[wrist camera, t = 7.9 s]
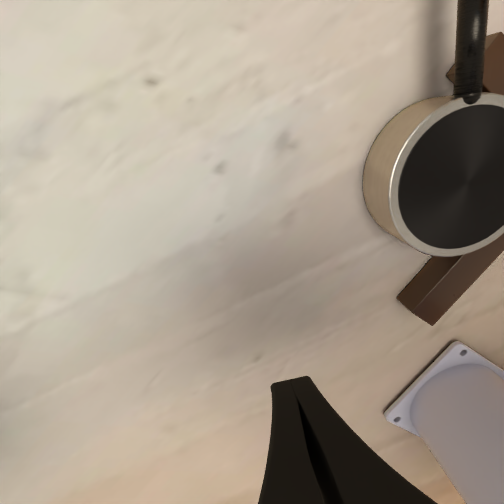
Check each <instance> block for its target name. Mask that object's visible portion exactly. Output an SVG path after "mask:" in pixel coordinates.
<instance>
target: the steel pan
mask: <svg viewBox="0 0 504 504" xmlns="http://www.w3.org/2000/svg"><path fill="white" fill-rule="evenodd" d="M488 7H489V0H458V7H457V29H456V51H455V73H454V95H451V96H441V97H433V98H429V99H425V100H422V101H420V102H417V103H415V104H413V105H411V106H409V107H407V108H406V109H404V110H403V111H401V112H400V113H399V114H397V115H396V116H395V117H394V118H393V119H392V120H391V121H390V122H389V123H388V124H387V125H386V126H385V127H384V129H383V130H382V131H381V132H380V134H379V135H378V137H377V138H376V140H375V142H374V144H373V145H372V147H371V149H370V152H369V154H368V157H367V160H366V164H365V168H364V175H363V192H364V198H365V202H366V205H367V208H368V210H369V212H370V214H371V216H372V217H373V219H374V220H375V221H376V223H377V224H378V225H379V226H380V227H381V228H383V229H384V230H385V231H387V232H388V233H390V234H391V235H393V236H395V237H396V238H398V239H399V240H401V241H403V242H404V243H406V244H408V245H409V246H411V247H412V248H414V249H416V250H417V251H419V252H422V253H424V254H428V255H431V256H438V257H453V256H460V255H464V254H467V253H471V252H473V251H476V250H478V249H481V248H482V247H484V246H486V245H488V244H490V243H491V242H493V241H494V240H496V239H497V238H498V237H500V236H501V235H502V234H503V233H504V95H502V94H497V93H488V92H482V87H483V74H484V60H485V47H486V34H487V20H488Z"/></svg>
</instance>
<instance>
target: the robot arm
mask: <svg viewBox="0 0 504 504" xmlns="http://www.w3.org/2000/svg"><path fill="white" fill-rule="evenodd" d="M270 387H271V392H272V424H271V436H270V444H269V451H268V458H267V464H266V470H265V475H264V480H263V485H262V489H261V493H260V498H259V502H258V504H437V503H436V502H435V501H433V500H432V499H431V498H429V497H428V496H427V495H425V494H424V493H423V492H421V491H420V490H419V489H417V488H416V487H415V486H413V485H412V484H411V483H410V482H408V481H407V480H406V479H405V478H404V477H402V476H401V475H400V474H399V473H398V472H396V471H395V470H394V469H393V468H392V467H390V466H389V465H388V464H387V463H386V462H385V461H384V460H383V459H381V458H380V457H379V456H378V455H377V454H376V453H375V452H374V451H373V450H372V449H371V448H370V447H369V446H368V445H367V444H366V443H365V442H364V441H363V440H362V439H361V438H360V437H359V436H358V435H357V434H356V433H355V432H354V431H353V430H352V429H351V428H350V427H349V426H348V425H347V424H346V423H345V421H344V420H343V419H342V418H341V417H340V416H339V415H338V414H337V412H336V411H335V410H334V409H333V408H332V407H331V405H330V404H329V403H328V402H327V400H326V399H325V398H324V397H323V395H322V394H321V393H320V391H319V390H318V389H317V387H316V386H315V384H314V383H313V381H312V380H311V378H310V377H308V376H304V377H299V378H295V379H290V380H285V381H281V382H276V383H273V384H272V385H271V386H270ZM384 416H385V418H386V420H387V421H389V422H391V423H393V424H395V425H397V426H399V427H401V428H403V429H405V430H407V431H409V432H411V433H413V434H415V435H417V436H419V437H421V438H422V439H423V441H424V442H425V444H426V445H427V447H428V448H429V449H430V451H431V452H432V454H433V455H434V457H435V458H436V460H437V461H438V463H439V464H440V466H441V467H442V469H443V470H444V472H445V473H446V475H447V476H448V478H449V479H450V481H451V482H452V484H453V485H454V487H455V488H456V490H457V491H458V493H459V494H460V495H461V497H462V498H463V500H464V501H465V503H466V504H504V370H503V369H501V368H500V367H498V366H497V365H495V364H494V363H492V362H491V361H489V360H488V359H486V358H485V357H483V356H482V355H480V354H479V353H477V352H476V351H474V350H473V349H471V348H470V347H468V346H467V345H465V344H464V343H462V342H460V341H455V342H453V343H452V344H451V345H450V346H449V347H448V348H447V349H446V350H445V351H444V352H443V353H442V354H441V355H440V356H439V357H438V358H437V359H436V360H435V361H434V362H433V363H432V364H431V365H430V366H429V367H428V368H427V369H426V370H425V371H424V372H423V373H422V374H421V375H420V376H419V377H418V378H417V379H416V380H415V381H414V383H413V384H412V385H411V386H410V387H409V388H408V389H407V390H406V391H405V392H404V393H403V394H402V395H401V396H400V397H399V398H398V399H397V400H396V401H395V402H394V403H393V404H392V405H391V406H390V407H389V408H388V409H387V410H386V411H385V413H384Z"/></svg>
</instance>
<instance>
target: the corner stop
mask: <svg viewBox="0 0 504 504" xmlns="http://www.w3.org/2000/svg"><path fill="white" fill-rule="evenodd" d="M454 73H455V64H454V66H453V67H452V68H451V70H450V71H449V72H448V73H447V75H446V76H447V77H448V78H449V79H450V80H451V81H452V82H453V83H454ZM482 92H488V93H497V94H502V95H504V34H503V33H502V32H498V33H495V34H492V35H488V36H486V47H485V60H484V74H483V87H482ZM503 251H504V233H503V234H502V235H501V236H500V237H498V238H497V239H496V240H494V241H493V242H491V243H490V244H488V245H486V246H484V247H482V248H481V249H478V250H476V251H473V252H471V253H467V254H464V255H460V256H453V257H438V256H433V257H432V258H431V259H430V261H429V262H428V263H427V264H426V265H425V266H424V267H423V269H422V270H421V271H420V272H419V273H418V274H417V275H416V276H415V278H414V279H413V280H412V281H411V282H410V283H409V284H408V285H407V287H406V288H405V289H404V290H403V291H402V292H401V293H400V295H399V296H398V297H397V299H398V300H399V301H400V302H401V303H402V304H403V305H404V306H405V307H406V308H407V309H408V310H409V311H411V312H412V313H413V314H415V315H416V316H418V317H419V318H421V319H422V320H424V321H425V322H427V323H428V324H430V325H431V326H433V325H434V324H435V323H436V322H437V321H438V320H439V319H440V318H441V317H442V316H443V315H444V313H445V312H446V311H447V310H448V309H449V308H450V307H451V306H452V305H453V304H454V303H455V302H456V301H457V300H458V299H459V297H460V296H461V295H462V294H463V293H464V292H465V291H466V290H467V289H468V288H469V287H470V286H471V285H472V284H473V283H474V282H475V280H476V279H477V278H478V277H479V276H480V275H481V274H482V273H483V272H484V271H485V270H486V269H487V268H488V267H489V266H490V265H491V263H492V262H493V261H494V260H495V259H496V258H497V257H498V256H499V255H500V254H501V253H502V252H503Z"/></svg>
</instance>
